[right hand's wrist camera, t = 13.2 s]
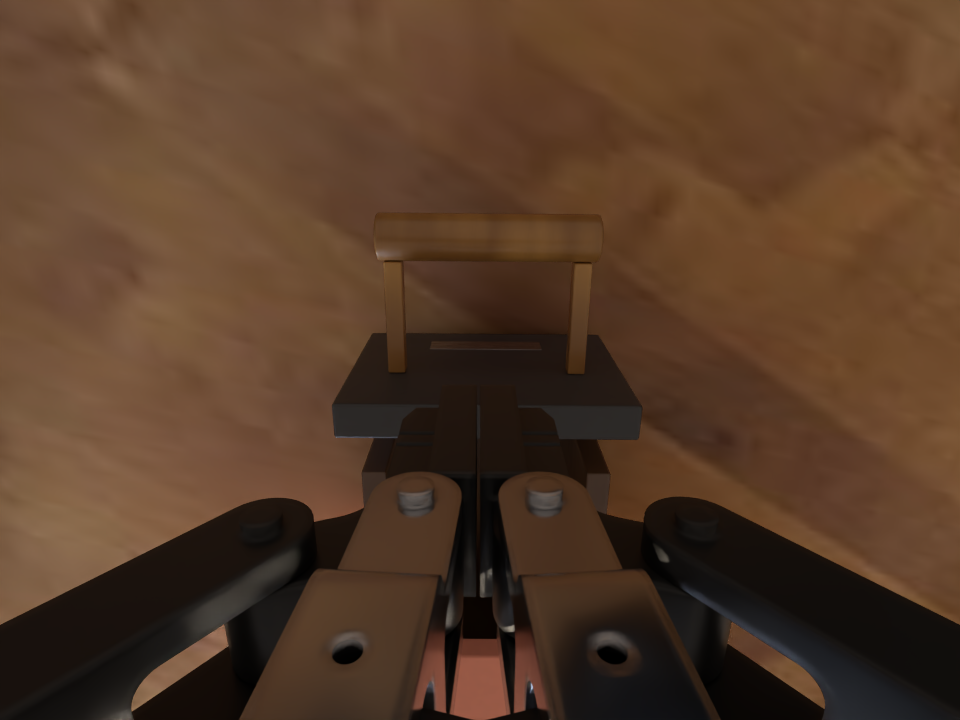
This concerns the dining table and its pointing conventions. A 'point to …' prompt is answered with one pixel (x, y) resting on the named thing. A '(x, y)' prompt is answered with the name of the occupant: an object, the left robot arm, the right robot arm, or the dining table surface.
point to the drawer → (489, 355)
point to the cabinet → (479, 681)
